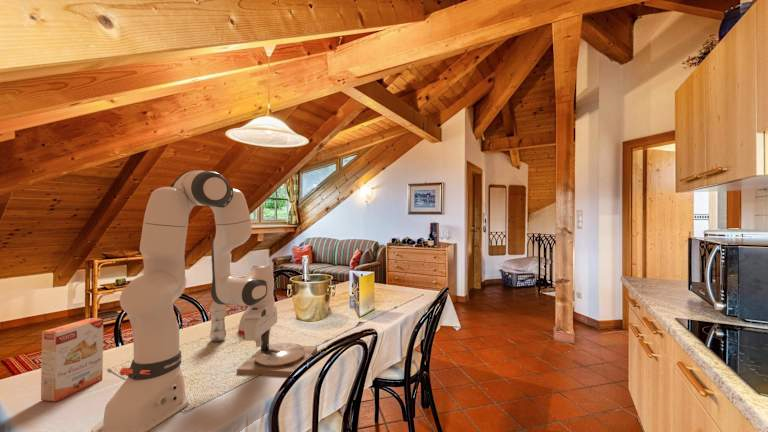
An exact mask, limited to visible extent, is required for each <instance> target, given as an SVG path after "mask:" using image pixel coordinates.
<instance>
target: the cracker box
mask: <svg viewBox="0 0 768 432" xmlns="http://www.w3.org/2000/svg"><path fill="white" fill-rule="evenodd" d="M103 357H104V319H103V318H96V317H89V318H84V319H81V320H78V321H75V322H72V323H68V324H64V325H61V326H57V327H53V328H50V329H45V330H43V331H41V361H40V363H41V366H40V367H41V369H40V371H41V372H40V373H41V374H40V375H41V376H40V377H41V379H40V381H41V382H40V385H41V386H40V398H41V399H40V400H41V401H46V402H54V403H56V402H58V401H60V400H61V399H65V398H66V397H70V396H71V395H73V394H75V393H78V392H79V391H81V390H83V389H85V388H88V387H89V386H92V385H94V384H96V383H98V382H100V381H102V380H103V369H104V367H103V363H104V361H103V360H104V359H103Z"/></svg>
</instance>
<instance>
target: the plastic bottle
mask: <svg viewBox="0 0 768 432" xmlns="http://www.w3.org/2000/svg"><path fill="white" fill-rule="evenodd" d="M226 309H227V306H226V305H220V304H217V303H216V302H215V301H214V300H213V302H212V303H211V304H210V307H209V311H210V320H211V324H210V333H209V339H210V341H212V342H215V343H216V342H221V341H224V340H225V339H226V337H227V331H226V323H225V322H226V321H225V318H226Z"/></svg>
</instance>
